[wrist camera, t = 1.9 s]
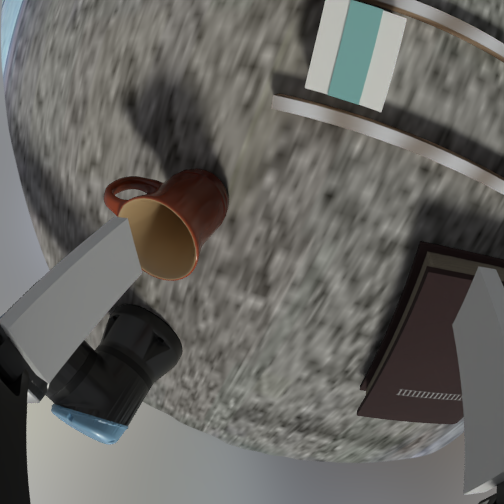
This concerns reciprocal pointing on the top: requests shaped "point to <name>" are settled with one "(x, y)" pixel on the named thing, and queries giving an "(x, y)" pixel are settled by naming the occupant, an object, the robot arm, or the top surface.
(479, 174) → the rail board
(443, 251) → the book
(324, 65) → the block
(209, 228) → the mug
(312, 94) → the top surface
